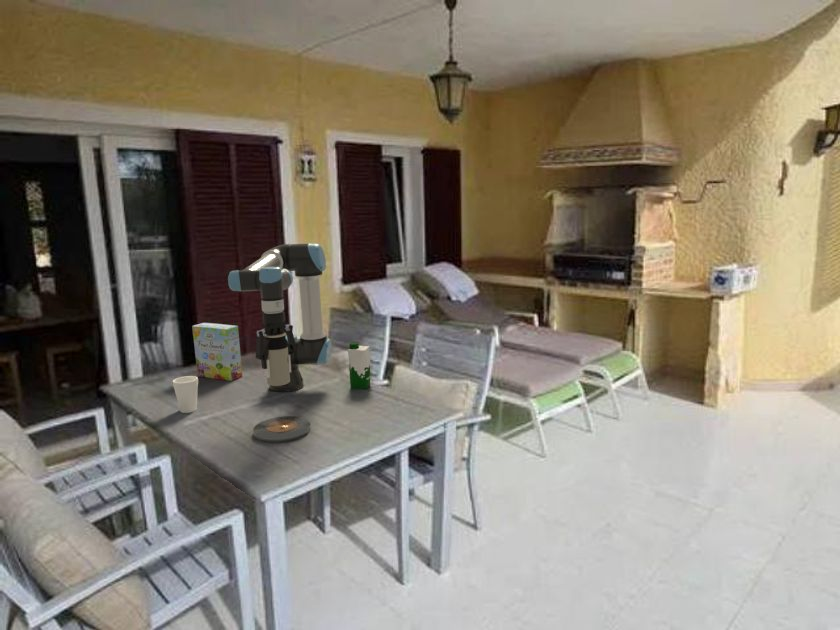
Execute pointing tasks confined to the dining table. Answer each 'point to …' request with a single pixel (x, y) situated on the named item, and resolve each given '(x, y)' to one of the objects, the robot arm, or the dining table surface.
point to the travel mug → (278, 360)
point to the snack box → (217, 351)
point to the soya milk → (359, 366)
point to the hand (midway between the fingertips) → (278, 374)
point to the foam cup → (186, 393)
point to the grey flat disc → (281, 429)
